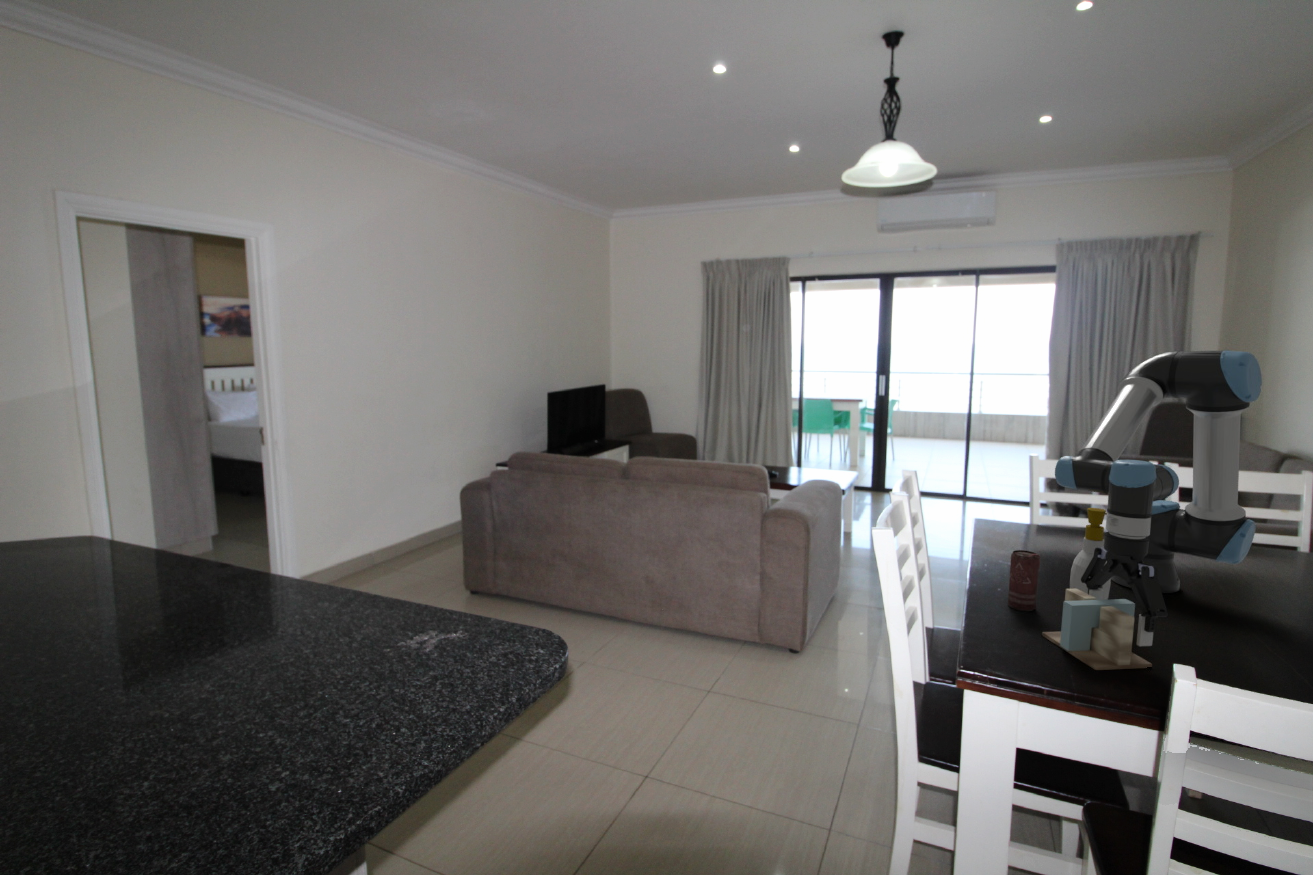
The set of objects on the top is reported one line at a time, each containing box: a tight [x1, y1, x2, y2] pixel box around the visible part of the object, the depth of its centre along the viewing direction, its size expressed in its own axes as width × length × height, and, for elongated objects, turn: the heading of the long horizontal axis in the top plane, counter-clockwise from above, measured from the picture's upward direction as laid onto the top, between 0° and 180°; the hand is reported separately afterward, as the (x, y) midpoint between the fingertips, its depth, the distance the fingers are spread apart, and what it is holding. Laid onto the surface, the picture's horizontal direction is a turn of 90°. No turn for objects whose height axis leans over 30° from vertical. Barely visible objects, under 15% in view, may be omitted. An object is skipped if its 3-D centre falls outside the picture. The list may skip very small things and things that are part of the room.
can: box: [1007, 549, 1041, 612], centre depth 160 cm, size 6×6×14 cm
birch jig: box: [1041, 588, 1153, 671], centre depth 136 cm, size 16×12×11 cm
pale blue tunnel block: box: [1060, 598, 1136, 652], centre depth 136 cm, size 14×2×10 cm, turn 94°
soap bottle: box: [1069, 507, 1112, 600], centre depth 155 cm, size 14×9×26 cm, turn 140°
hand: (1117, 631), depth 137 cm, fingers open, 13 cm apart
